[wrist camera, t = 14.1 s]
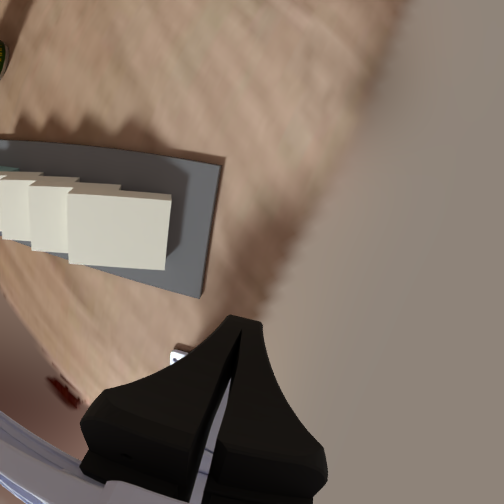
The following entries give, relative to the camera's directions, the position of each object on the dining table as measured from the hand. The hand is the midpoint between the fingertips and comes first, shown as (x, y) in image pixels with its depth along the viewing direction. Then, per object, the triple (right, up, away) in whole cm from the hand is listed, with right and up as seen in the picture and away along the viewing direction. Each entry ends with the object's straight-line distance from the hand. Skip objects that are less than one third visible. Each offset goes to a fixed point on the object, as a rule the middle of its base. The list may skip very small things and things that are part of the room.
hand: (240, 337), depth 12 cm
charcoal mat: (-14, +7, +11) cm, 19 cm away
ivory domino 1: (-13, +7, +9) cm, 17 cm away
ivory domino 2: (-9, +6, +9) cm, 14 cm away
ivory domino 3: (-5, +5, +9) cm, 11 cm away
